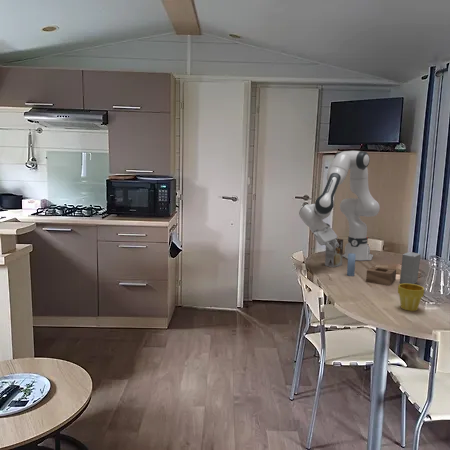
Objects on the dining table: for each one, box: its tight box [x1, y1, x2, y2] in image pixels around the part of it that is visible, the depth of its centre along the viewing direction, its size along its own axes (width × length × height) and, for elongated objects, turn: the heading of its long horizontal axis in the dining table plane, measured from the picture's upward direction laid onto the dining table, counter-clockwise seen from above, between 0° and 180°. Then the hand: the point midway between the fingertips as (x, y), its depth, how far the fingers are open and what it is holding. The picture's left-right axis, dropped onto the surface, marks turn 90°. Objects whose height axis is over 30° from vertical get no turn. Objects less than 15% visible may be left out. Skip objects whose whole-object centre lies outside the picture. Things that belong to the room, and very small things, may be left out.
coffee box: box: [324, 238, 344, 268], centre depth 262 cm, size 9×6×16 cm
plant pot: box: [397, 283, 425, 312], centre depth 187 cm, size 10×10×10 cm
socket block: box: [365, 266, 397, 287], centre depth 229 cm, size 12×12×6 cm
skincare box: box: [399, 251, 422, 284], centre depth 225 cm, size 8×7×16 cm
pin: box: [346, 253, 356, 277], centre depth 240 cm, size 4×4×12 cm
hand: (335, 247), depth 244 cm, fingers open, 8 cm apart
